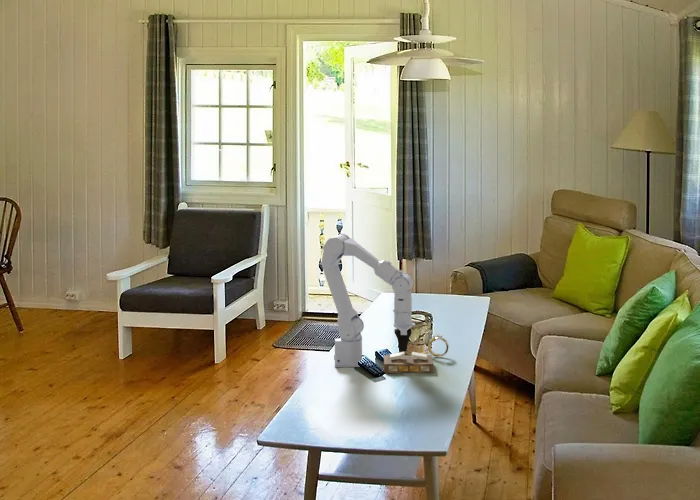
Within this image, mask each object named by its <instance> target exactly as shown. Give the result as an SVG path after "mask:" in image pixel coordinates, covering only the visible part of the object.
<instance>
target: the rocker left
mask: <svg viewBox="0 0 700 500" xmlns="http://www.w3.org/2000/svg"><path fill="white" fill-rule="evenodd" d="M389 355H390V359H391V360H394V359H400V358H405V355H406V353H405V351H399V352H395V353H389Z"/></svg>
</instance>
